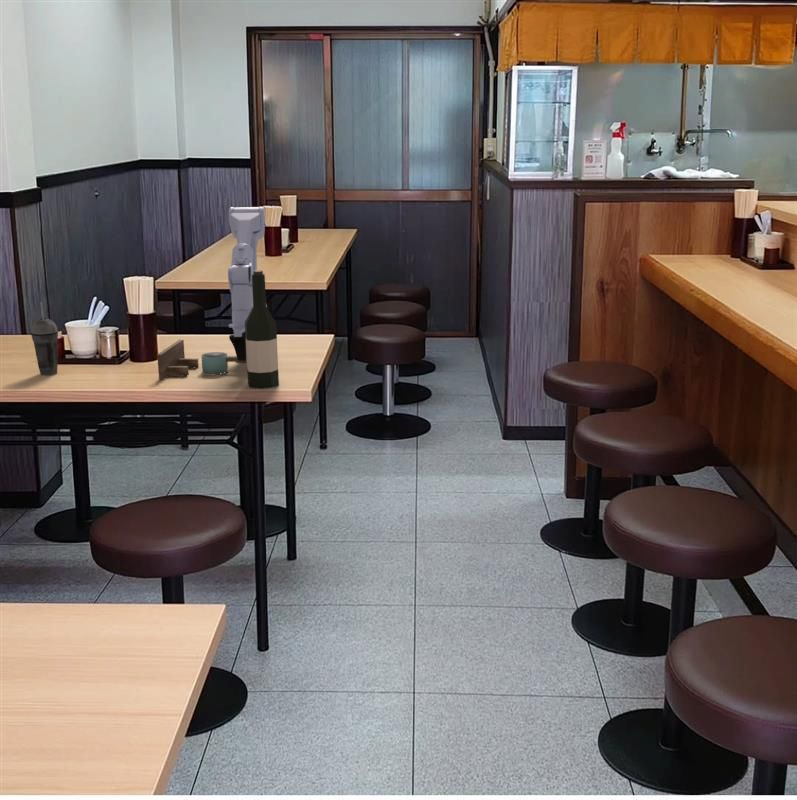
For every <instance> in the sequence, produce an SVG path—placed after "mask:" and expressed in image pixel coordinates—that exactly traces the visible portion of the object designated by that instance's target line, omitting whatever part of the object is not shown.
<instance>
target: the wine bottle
mask: <svg viewBox="0 0 797 800" xmlns="http://www.w3.org/2000/svg"><path fill="white" fill-rule="evenodd" d="M252 292H253V308H252V310H251V311H250V313H249V315H248V317H247V319H246V321H245V337H246V357H247V362H246V372H247V385H248V387H249V388H254V389H270V388H274V387H277V386H279V385H280V382H279V380H280V379H279V358H278V356H279V355H278V353H279V352H278V337H277V336H278V334H277V333H278V331H277V321H276V320H275V318H274V317H273V315H272V314H271V312H270V311H269V309H268V306H267V307H266V304H267V297H266V294H267V293H266V277H265V273H264V271H263V270H258V269H257V270H256V271H253V274H252Z"/></svg>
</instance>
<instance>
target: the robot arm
mask: <svg viewBox="0 0 797 800" xmlns="http://www.w3.org/2000/svg"><path fill="white" fill-rule="evenodd" d="M265 214H266V213H265V209H264V207H263V206H248V207H247V206H245V207H242V206H241V207H236V206H235V207H234V206H230V207H229V209H228V224H229V227H230V231H231V234H232V237H233V238H234V239H236V245H234V246H233V248H232V252H231V261H230V262H231V263H230V266H229V267H228V270H227V279H228V284H229V285H228V286H229V293H230V296H231V322H232V323H230V324H228V328H230V329H231V328H232V330H233V334H230V335H228V336H229V337H228V338H229V341H230V342H231V344H232V347H233V349H234V352H235V356H237V359H238V361H246V358H247V357H246V337H245V321H246V319H247V317H248V315H249V313H250V311H251V310H252V308H253V292H252V274H253V271H256V270H258V258H257V256H258V255H257V254H258V253H257V252H258V251H257V249H258V243H259V240H261V239H263V238H264V236H265V233H266V232H265V231H266V229H265V228H266V227H265V226H266V225H265V223H266V218H265V217H266V215H265ZM266 307H267V308H268V305H267V303H266Z"/></svg>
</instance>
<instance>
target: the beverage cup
mask: <svg viewBox="0 0 797 800" xmlns="http://www.w3.org/2000/svg"><path fill="white" fill-rule="evenodd" d="M39 304H40V314H41V318H39V319H37V320H35V321H34V323H33V324H32V326H31V329H30V335H31V340H32V342H33V346H34V349H35V356H36V361H37V366H38V370H39V375H40V376H54V375H57V374H58V338H59V337H58V336H59V330H58V326H57V325H56V323H55V322H54V321H53V320H51V319H50V318H46V317H45V315H44V306H43V301H40V302H39Z"/></svg>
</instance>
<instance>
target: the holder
mask: <svg viewBox="0 0 797 800" xmlns="http://www.w3.org/2000/svg"><path fill="white" fill-rule="evenodd" d="M184 342H185V341H184V339H178V340H177V341H175V342H173V343H172V344H171V345H169V346H168V347H166V348H164V349H163V350H161V351H160V352H158V353H157V354H156V355H157V369H158V380H159V379H164V380H165V379H167V378H168V377H188V376H189V372H190V371H189V369H194V368H193V367H196V368H195V369H199V365H200V364H199V358H186V356H185V343H184ZM168 375H169V376H168ZM182 375H183V376H182ZM187 375H188V376H187ZM167 376H168V377H167ZM166 377H167V378H166Z"/></svg>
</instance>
